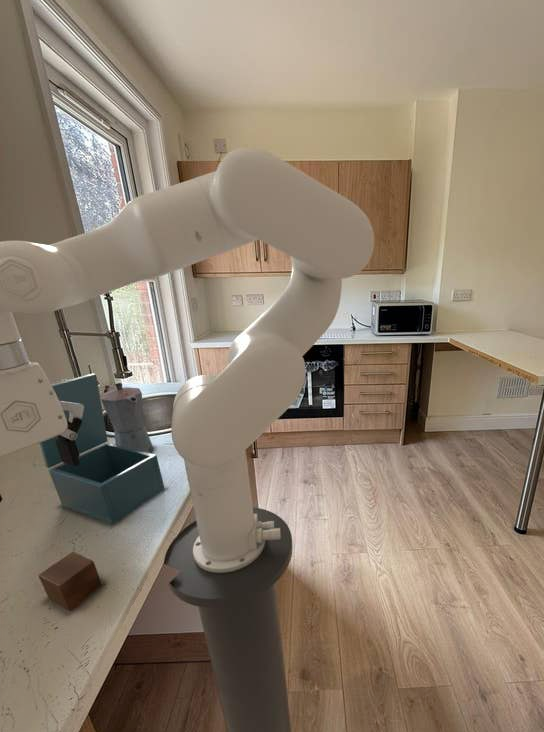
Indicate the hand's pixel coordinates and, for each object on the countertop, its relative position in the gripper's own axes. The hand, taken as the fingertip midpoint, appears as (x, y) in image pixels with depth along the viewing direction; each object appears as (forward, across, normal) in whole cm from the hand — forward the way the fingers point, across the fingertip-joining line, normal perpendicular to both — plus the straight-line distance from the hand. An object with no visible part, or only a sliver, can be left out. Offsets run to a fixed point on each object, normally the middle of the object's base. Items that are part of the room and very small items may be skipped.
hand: (35, 480), depth 48 cm
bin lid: (+1, +17, +21) cm, 27 cm away
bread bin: (+19, +18, +15) cm, 30 cm away
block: (+19, -1, -2) cm, 19 cm away
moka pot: (+19, +34, +29) cm, 48 cm away
